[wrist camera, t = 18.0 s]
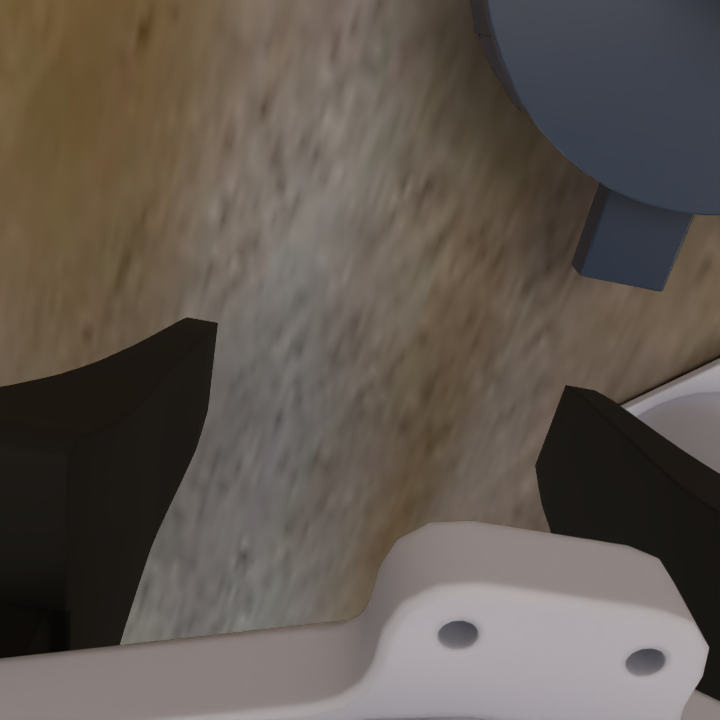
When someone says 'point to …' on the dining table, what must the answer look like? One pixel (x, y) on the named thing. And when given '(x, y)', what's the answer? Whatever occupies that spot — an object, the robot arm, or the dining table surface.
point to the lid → (622, 90)
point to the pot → (612, 216)
